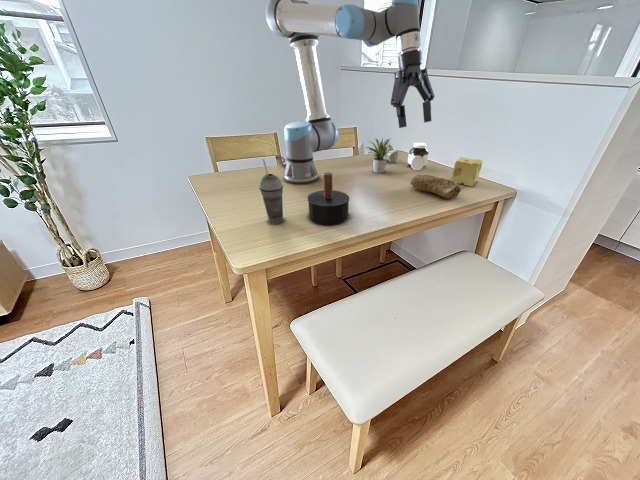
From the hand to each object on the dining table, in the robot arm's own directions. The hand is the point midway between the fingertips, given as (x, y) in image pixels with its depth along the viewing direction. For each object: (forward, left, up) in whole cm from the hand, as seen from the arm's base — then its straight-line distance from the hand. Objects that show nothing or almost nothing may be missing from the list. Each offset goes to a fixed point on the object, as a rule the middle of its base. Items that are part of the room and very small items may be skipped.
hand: (415, 124), depth 98 cm
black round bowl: (+14, -33, -27) cm, 45 cm away
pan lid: (+14, -33, -21) cm, 41 cm away
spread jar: (-40, +21, -27) cm, 53 cm away
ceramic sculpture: (-55, +9, -27) cm, 62 cm away
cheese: (-16, +35, -27) cm, 47 cm away
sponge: (-4, +14, -27) cm, 31 cm away
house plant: (-37, -1, -27) cm, 46 cm away
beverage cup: (+15, -51, -27) cm, 60 cm away
